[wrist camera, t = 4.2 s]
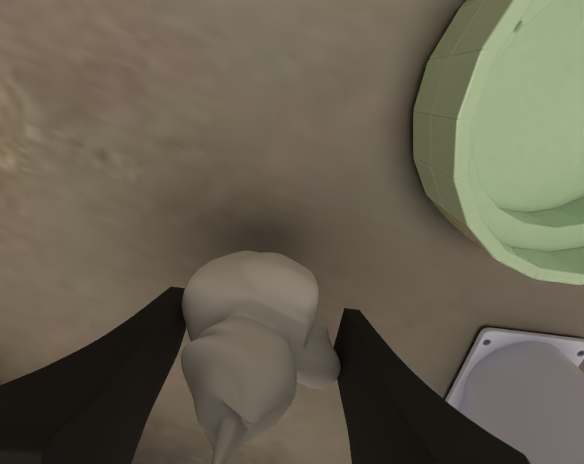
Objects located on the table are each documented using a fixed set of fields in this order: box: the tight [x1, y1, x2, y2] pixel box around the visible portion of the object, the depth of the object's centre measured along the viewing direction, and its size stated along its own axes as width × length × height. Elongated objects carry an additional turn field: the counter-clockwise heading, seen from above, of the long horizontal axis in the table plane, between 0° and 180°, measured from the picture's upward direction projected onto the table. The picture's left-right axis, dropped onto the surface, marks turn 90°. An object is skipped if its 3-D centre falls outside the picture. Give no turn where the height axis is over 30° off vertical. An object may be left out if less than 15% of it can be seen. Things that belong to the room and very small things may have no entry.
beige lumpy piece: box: [181, 251, 341, 464], centre depth 11 cm, size 5×7×8 cm
